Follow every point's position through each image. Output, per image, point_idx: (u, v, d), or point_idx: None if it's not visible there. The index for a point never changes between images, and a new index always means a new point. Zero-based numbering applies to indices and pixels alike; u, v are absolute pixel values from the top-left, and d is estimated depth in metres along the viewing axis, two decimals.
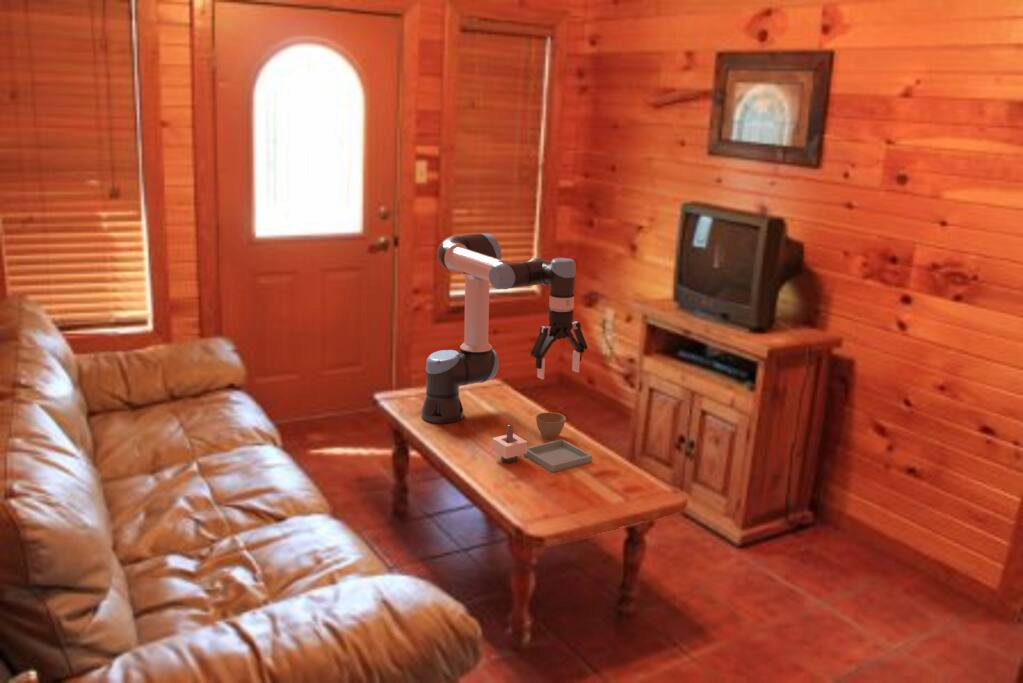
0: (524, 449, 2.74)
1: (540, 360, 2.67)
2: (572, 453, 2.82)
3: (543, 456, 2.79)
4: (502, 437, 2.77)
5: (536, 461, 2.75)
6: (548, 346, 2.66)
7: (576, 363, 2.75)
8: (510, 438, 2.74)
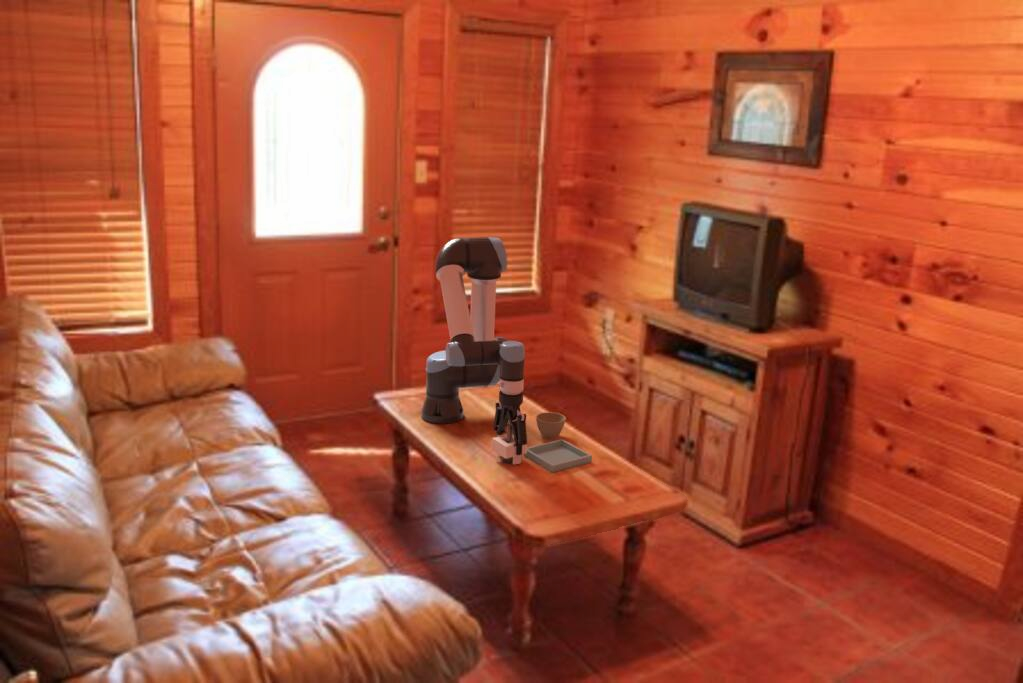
0: (524, 449, 2.74)
1: (498, 435, 2.79)
2: (572, 453, 2.82)
3: (543, 456, 2.79)
4: (502, 437, 2.77)
5: (536, 461, 2.75)
6: (500, 423, 2.76)
7: None
8: (510, 438, 2.74)
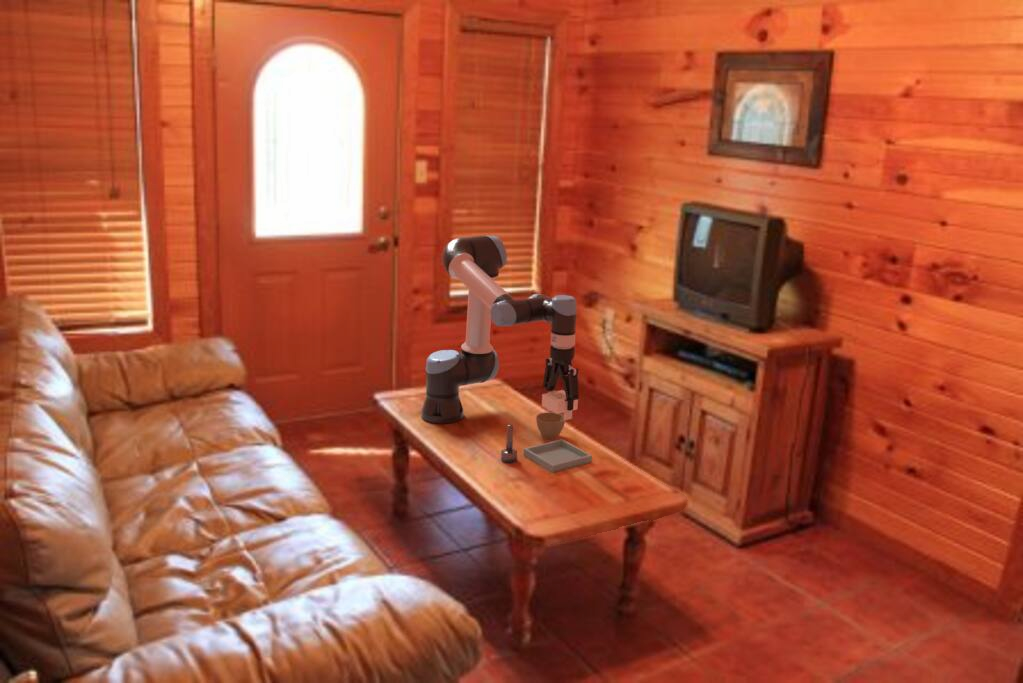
0: (575, 405, 2.72)
1: None
2: (572, 453, 2.82)
3: (543, 456, 2.79)
4: (552, 393, 2.75)
5: (536, 461, 2.75)
6: (550, 379, 2.74)
7: None
8: (510, 438, 2.74)
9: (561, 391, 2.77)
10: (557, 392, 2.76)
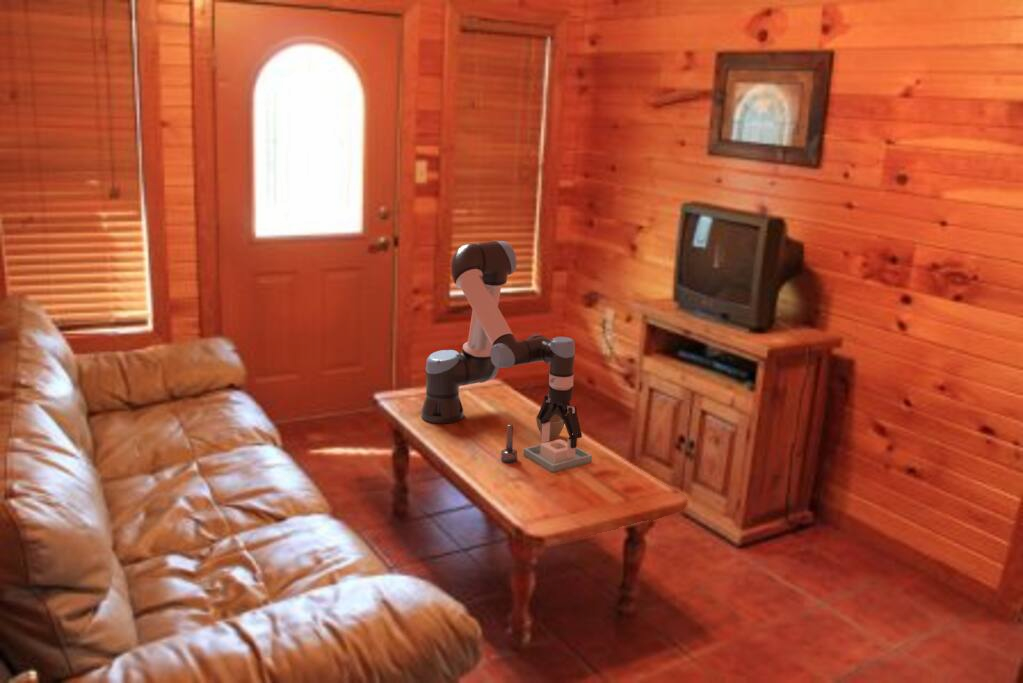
0: None
1: None
2: None
3: None
4: (550, 443, 2.80)
5: (536, 461, 2.75)
6: (546, 414, 2.79)
7: None
8: (510, 438, 2.74)
9: (559, 440, 2.82)
10: (555, 442, 2.81)
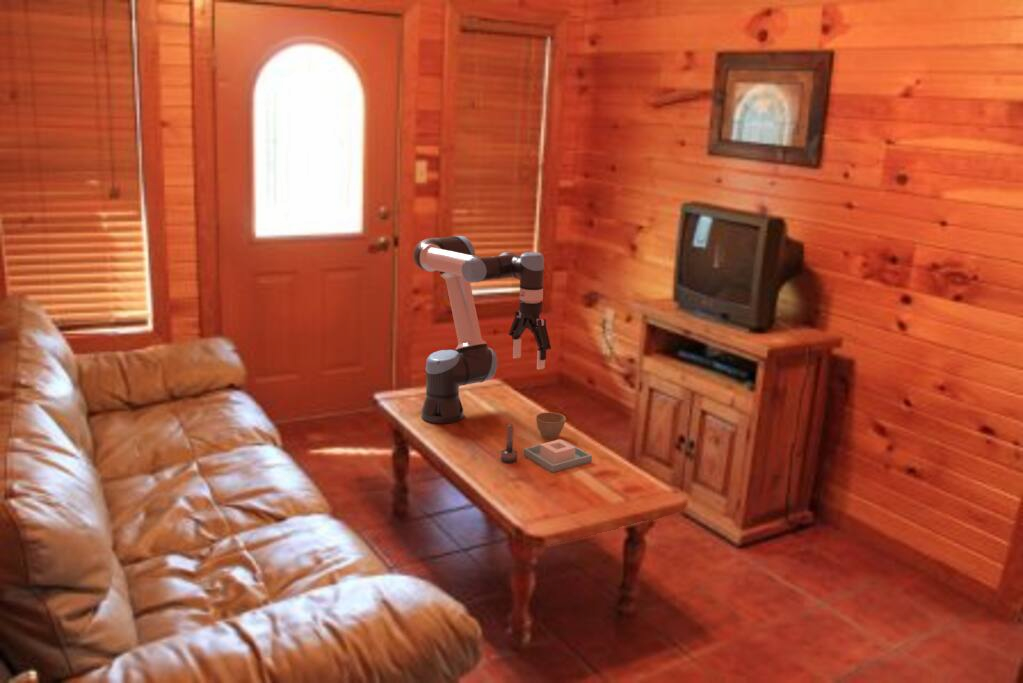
0: (572, 455, 2.77)
1: None
2: None
3: None
4: (550, 443, 2.80)
5: (536, 461, 2.75)
6: (517, 329, 2.88)
7: None
8: (510, 438, 2.74)
9: (559, 440, 2.82)
10: (555, 442, 2.81)
